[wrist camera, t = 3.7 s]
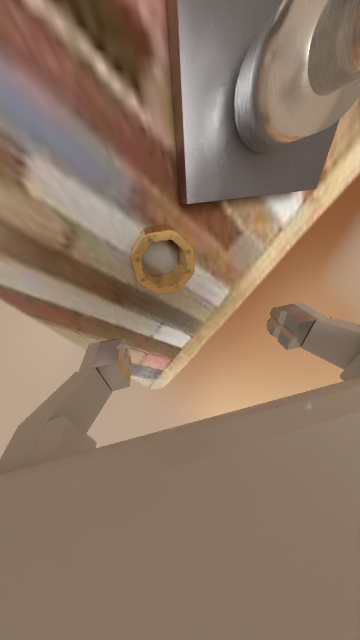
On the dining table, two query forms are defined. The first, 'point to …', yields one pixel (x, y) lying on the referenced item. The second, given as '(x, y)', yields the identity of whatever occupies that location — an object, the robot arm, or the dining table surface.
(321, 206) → the dining table surface
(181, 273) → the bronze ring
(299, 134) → the grey plate with knob
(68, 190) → the dining table surface
